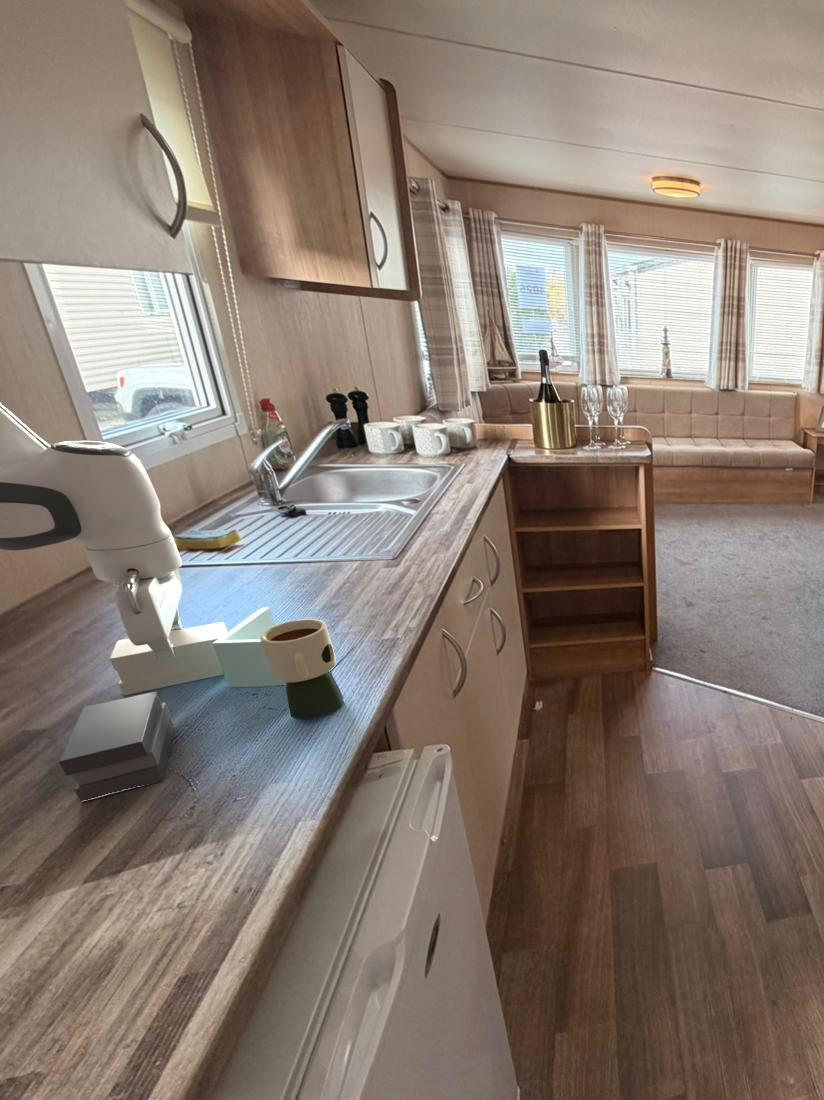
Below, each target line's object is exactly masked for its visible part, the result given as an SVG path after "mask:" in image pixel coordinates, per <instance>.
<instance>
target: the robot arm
mask: <svg viewBox="0 0 824 1100" xmlns="http://www.w3.org/2000/svg"><path fill="white" fill-rule="evenodd" d="M166 524H167V523H165V522H164V520H163V517H162V514H161V502H160V499H159V496H158V494H157V492H156V489H155V487H154V485H153V483H152V481H151V478H150V477H149V474H148V473H147V470H146V469H145V467H144V465H143V464H142V462H141V461H140V459H139V458H138V457H137V455H136V454H135V453H134V452H132V451H131V450H129V449H128V448H125V447H123V446H120V445H117V444H115V443H109V442H104V441H94V440H68V441H61V442H56V443H52V444H49V443H48V442H47V441H45V440H44V439H43V438H42V437H40V436H39V435H38V434H37V433H36V432H34V431H33V430H32V429H31V428H30V427H28V425H26V424H25V423H24V422H23V421H21V420H20V418H19V417H17V415H15V414H14V413H13V412H12V411H10V410H9V409H8V408H7V407H6V406H5V405H3V404H2V402H0V550H4V551H26V550H31V549H36V548H42V547H47V546H52V545H57V544H59V543H64V542H67V541H77V542H79V543H80V544H81V546H82V548H83V551H84V553H85V556H86V559H87V560H88V562H89V564H90V567H91V569H92V571H93V573H94V576H95V578H96V579H97V580H98V581H102V582H108V583H112V585H113V587H114V588H115V589H117V590H116V591H115V593H114V600H115V604H116V608H117V611H118V614H119V616H120V620H121V623H122V625H123V627H124V631H125V633H126V635H127V639H129V640H130V641H131V642H132V643H133V644H134V645H136V646H139V645H146V644H147V645H148V646H149V647H150V648H151V649H152V650H153V652H154V653H155V655H156V657H157V660H158V661H159V662H165V661H170V660H173V659H174V658H175V654H176V652H175V650H174V647H173V645H171V644H170V642H169V639H168V637H169V634H170V631H174V630H180V629H184V628H183V625H182V622H181V620H180V613H179V604H180V600H181V597H182V594H183V584H182V579H181V575H180V571H179V569H180V568H181V567H182V565H183V560H182V557H181V555H180V552H179V549H178V547H177V544H176V542H175V539H174V536H173V534H172V531H171V529H170V528H169V527H168V525H166Z"/></svg>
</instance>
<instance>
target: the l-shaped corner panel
mask: <svg viewBox="0 0 824 1100" xmlns="http://www.w3.org/2000/svg"><path fill="white" fill-rule="evenodd" d="M275 625H276V623H275V620H274V617H273V614H272V610H271V608H270V606H269V607H267V606H266V607H261V608H259V609H258V610H257V611H255V612H254V613H251V615H250V616H248V617H246V618H245V619H244V620H242V621H241V622H239V624H237V625H236V626H234V627H233V628H231V629H230V630H229V631H228V632H227V633H226V634H225V635H223V636H222V637H220V638H219V639H218V640H216V641H215V642H213V643H212V644H213V646H214V649H215V652H216V654H217V657H218V659H219V662H220V665H221V667H222V670H223V673H224V674H223V675H224V678H225V680H226V683H227V687H228V688H229V689H230V688H231V689H232V688H254V687H257V688H258V687H280V686H281V685H283V686H286V682H281V681H277V680H276V679H275V678H274V676H273V674H272V672H271V669H270V666H269V663H268V660H267V657H266V654H265V651H264V648H263V645H262V642H261V639H260V636H261V634H262V633H263V632H264V631H265V630H267V629H269V628H270V627H273V626H275ZM278 685H279V686H278ZM281 687H282V686H281Z"/></svg>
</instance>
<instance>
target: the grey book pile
mask: <svg viewBox="0 0 824 1100" xmlns="http://www.w3.org/2000/svg"><path fill="white" fill-rule="evenodd" d="M175 728H176V727H175V724H174V723H173V720H172V718H171V713H170V710H169V708H168V706H167V703H166V702H165V701H164V702H161V700H160V697H159V694H158V693H157V691H152V692H151V691H150V692H148V693H147V692H146V693H142V694H137V695H133V696H132V695H131V696H128V697H123V698H119V699H114V700H110V701H109V700H108V701H104V702H99V703H95V704H91V705H85V706H83V707H82V709H81V712H80V714H79V715H78V718H77V720H76V723H75V725H74V727H73V729H72V731H71V734H70V736H69V738H68V741H67V742H66V744H65V747H64V749H63V751H62V753H61V756H60V758H59V760H58V763H59V765H60V767H61V769H62V770H63V773H64V775H65V776H73V778H74V779H75V781H76V784H75V787H74V792H75V794H76V796H77V798H78V799H79V801H80V802H81V801H83V800H88V799H91V798H95V797H98V796H102V795H105V794H108V793H112V792H117V791H121V790H123V789H128V788H133V787H137V786H142V785H147V784H151V785H153V784H152V783H154V784H156V783H155V782H158V783H161V782H163V781H164V777H165V773H166V770H167V769H166V768H167V764H168V759H169V755H170V750H171V745H172V741H173V738H174V737H173V736H174V732H175ZM147 786H148V785H147Z"/></svg>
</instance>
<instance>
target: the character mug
mask: <svg viewBox="0 0 824 1100" xmlns="http://www.w3.org/2000/svg"><path fill="white" fill-rule="evenodd" d="M260 639H261V642H262V645H263V648H264V651H265V654H266V657H267V660H268V663H269V666H270V669H271V672H272V674H273V676H274V678H275V679H276V680H277V681H281V682H286V685H285V690H286V698H287V705H288V711H289V715H290V717H291V718H292V719H294V720H309V719H316V718H321V717H327V716H330V715H333V714H334V713H336V712H338V711H339V710H341V709H342V708H343V706H344V705H345V702H344V696H343V694H342V692H341V689H340V687H339V684H338V683H337V681H336V680H335V678H334V676H333V673H332V672H329V670H331V669H332V668H334V666H335V665H336V657H335V653H334V649H333V647H334V646H333V643H332V640H331V636H330V633H329V630H328V627H327V624H326V622H325V621H323V620H320V619H316V618H302V619H294V620H293V619H292V620H289V621H285V622H281V623H278V624H275V626H273V627H270V628H269V629H267V630H265V631H264V632H263V633H262V634H261V636H260ZM334 669H335V668H334Z"/></svg>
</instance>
